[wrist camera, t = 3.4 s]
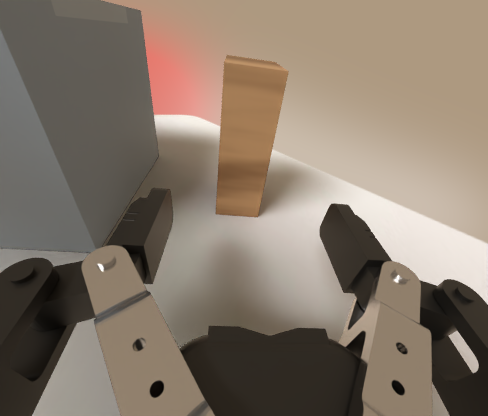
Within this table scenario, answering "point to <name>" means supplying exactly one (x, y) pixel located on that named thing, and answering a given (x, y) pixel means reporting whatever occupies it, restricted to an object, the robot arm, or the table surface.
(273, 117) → the wooden block
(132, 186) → the grey box with opening
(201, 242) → the table surface
